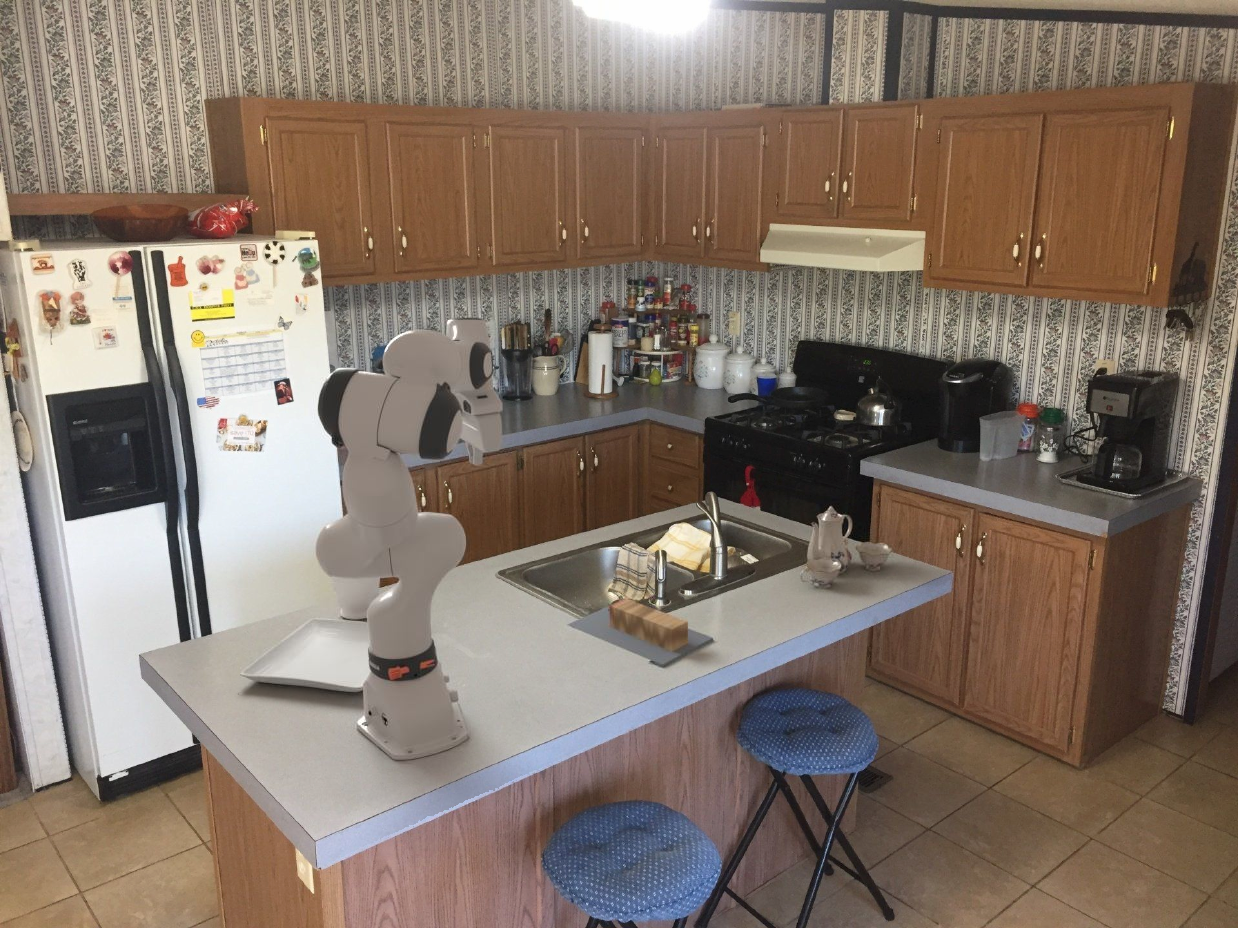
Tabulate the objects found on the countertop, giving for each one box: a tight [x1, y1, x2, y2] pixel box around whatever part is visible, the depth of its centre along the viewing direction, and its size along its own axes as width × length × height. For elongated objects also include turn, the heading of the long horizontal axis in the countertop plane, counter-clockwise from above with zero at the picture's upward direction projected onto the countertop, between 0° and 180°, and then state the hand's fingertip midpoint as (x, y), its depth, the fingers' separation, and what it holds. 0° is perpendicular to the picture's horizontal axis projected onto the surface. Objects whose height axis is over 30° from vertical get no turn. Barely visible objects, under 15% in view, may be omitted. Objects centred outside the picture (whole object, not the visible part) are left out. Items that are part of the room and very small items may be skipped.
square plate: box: [239, 617, 370, 693], centre depth 209 cm, size 27×27×4 cm
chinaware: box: [799, 505, 894, 589], centre depth 247 cm, size 28×17×17 cm, turn 130°
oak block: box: [608, 598, 689, 651], centre depth 216 cm, size 5×5×18 cm
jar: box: [330, 577, 381, 621], centre depth 231 cm, size 11×10×15 cm
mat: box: [567, 605, 714, 668], centre depth 219 cm, size 28×16×1 cm, turn 46°
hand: (476, 463), depth 208 cm, fingers closed
